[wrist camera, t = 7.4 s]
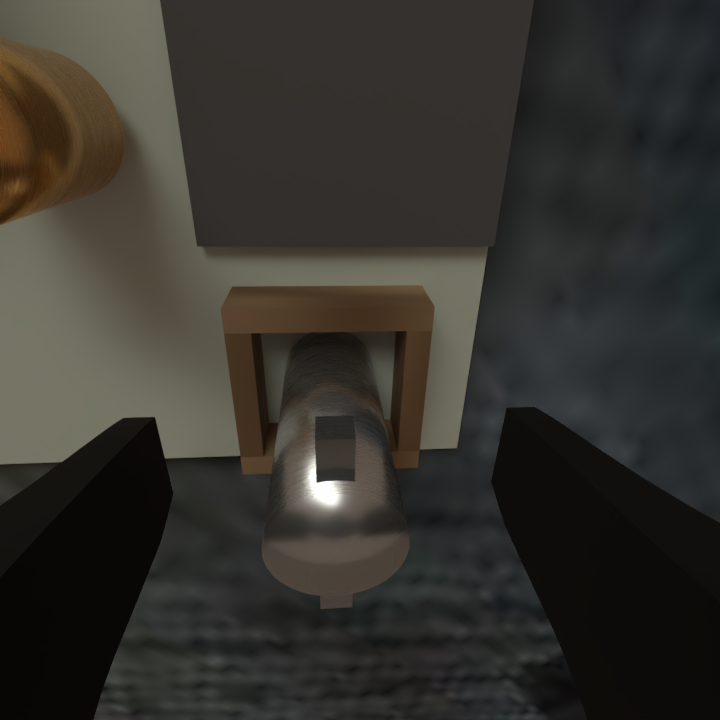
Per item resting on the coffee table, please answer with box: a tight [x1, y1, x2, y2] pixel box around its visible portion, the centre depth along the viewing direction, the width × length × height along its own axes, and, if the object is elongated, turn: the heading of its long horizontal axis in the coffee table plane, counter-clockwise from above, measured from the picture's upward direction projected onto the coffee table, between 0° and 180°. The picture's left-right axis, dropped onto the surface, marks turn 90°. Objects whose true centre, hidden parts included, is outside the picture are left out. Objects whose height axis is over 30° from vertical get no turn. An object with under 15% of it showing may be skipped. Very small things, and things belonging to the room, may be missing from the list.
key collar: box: [221, 285, 435, 475], centre depth 12 cm, size 5×5×2 cm
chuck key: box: [262, 332, 410, 609], centre depth 10 cm, size 2×4×6 cm, turn 179°
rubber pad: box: [160, 0, 534, 247], centre depth 9 cm, size 7×7×1 cm
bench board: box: [0, 0, 488, 464], centre depth 9 cm, size 20×22×1 cm
